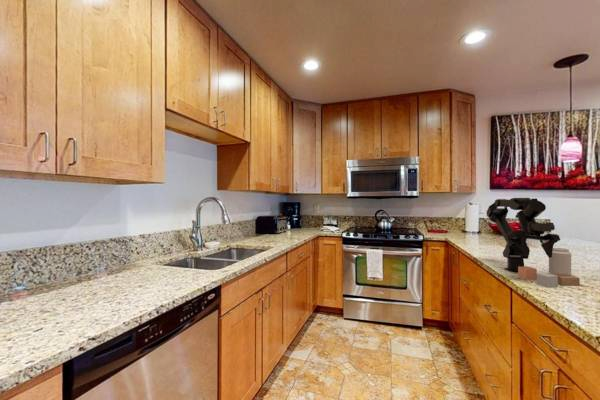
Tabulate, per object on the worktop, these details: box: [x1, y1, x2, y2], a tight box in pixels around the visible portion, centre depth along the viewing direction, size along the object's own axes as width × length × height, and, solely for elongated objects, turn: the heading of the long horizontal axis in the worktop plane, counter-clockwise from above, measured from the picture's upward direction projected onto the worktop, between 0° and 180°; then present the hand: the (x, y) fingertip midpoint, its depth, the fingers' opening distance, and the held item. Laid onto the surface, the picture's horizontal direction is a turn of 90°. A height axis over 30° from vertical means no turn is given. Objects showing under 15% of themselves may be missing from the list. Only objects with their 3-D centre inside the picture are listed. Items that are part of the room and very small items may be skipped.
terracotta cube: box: [517, 266, 538, 280], centre depth 122 cm, size 4×4×4 cm
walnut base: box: [547, 272, 581, 287], centre depth 114 cm, size 7×7×4 cm
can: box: [548, 247, 572, 275], centre depth 126 cm, size 8×8×12 cm
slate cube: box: [536, 272, 559, 289], centre depth 111 cm, size 4×4×4 cm
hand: (539, 256), depth 116 cm, fingers open, 9 cm apart
